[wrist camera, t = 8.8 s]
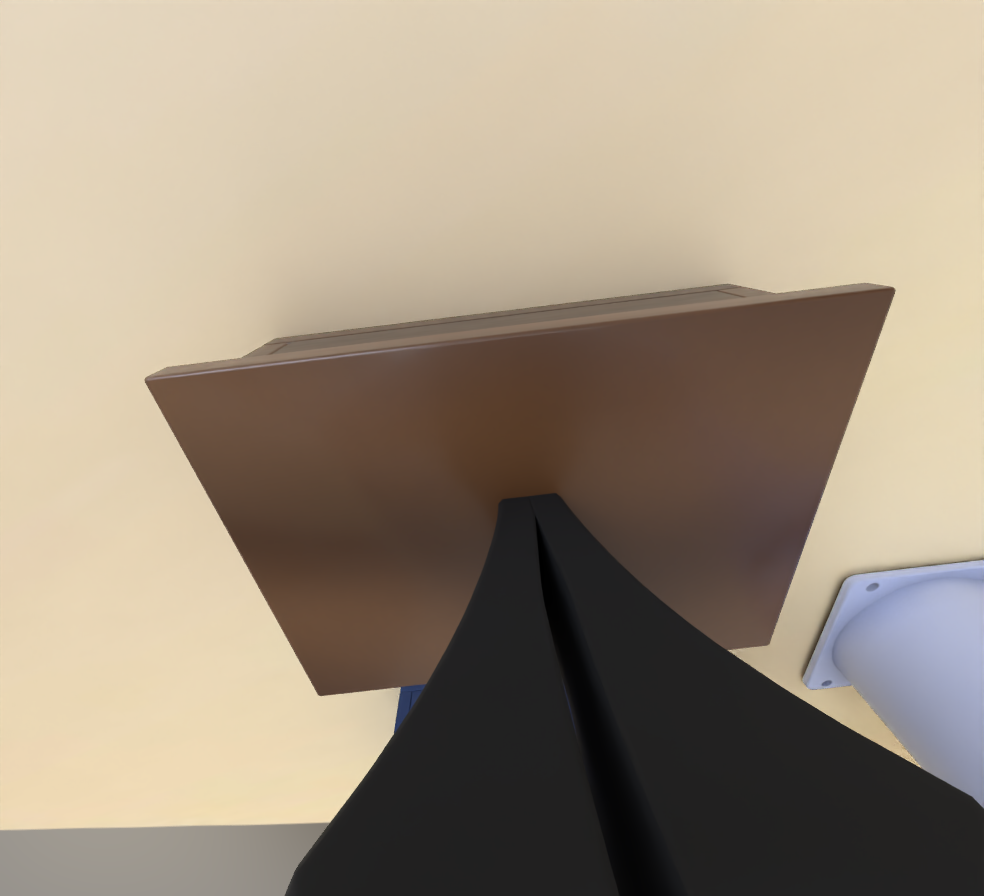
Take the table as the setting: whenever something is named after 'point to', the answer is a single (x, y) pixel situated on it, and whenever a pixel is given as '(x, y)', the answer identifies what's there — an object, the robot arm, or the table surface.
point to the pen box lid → (526, 463)
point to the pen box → (505, 318)
